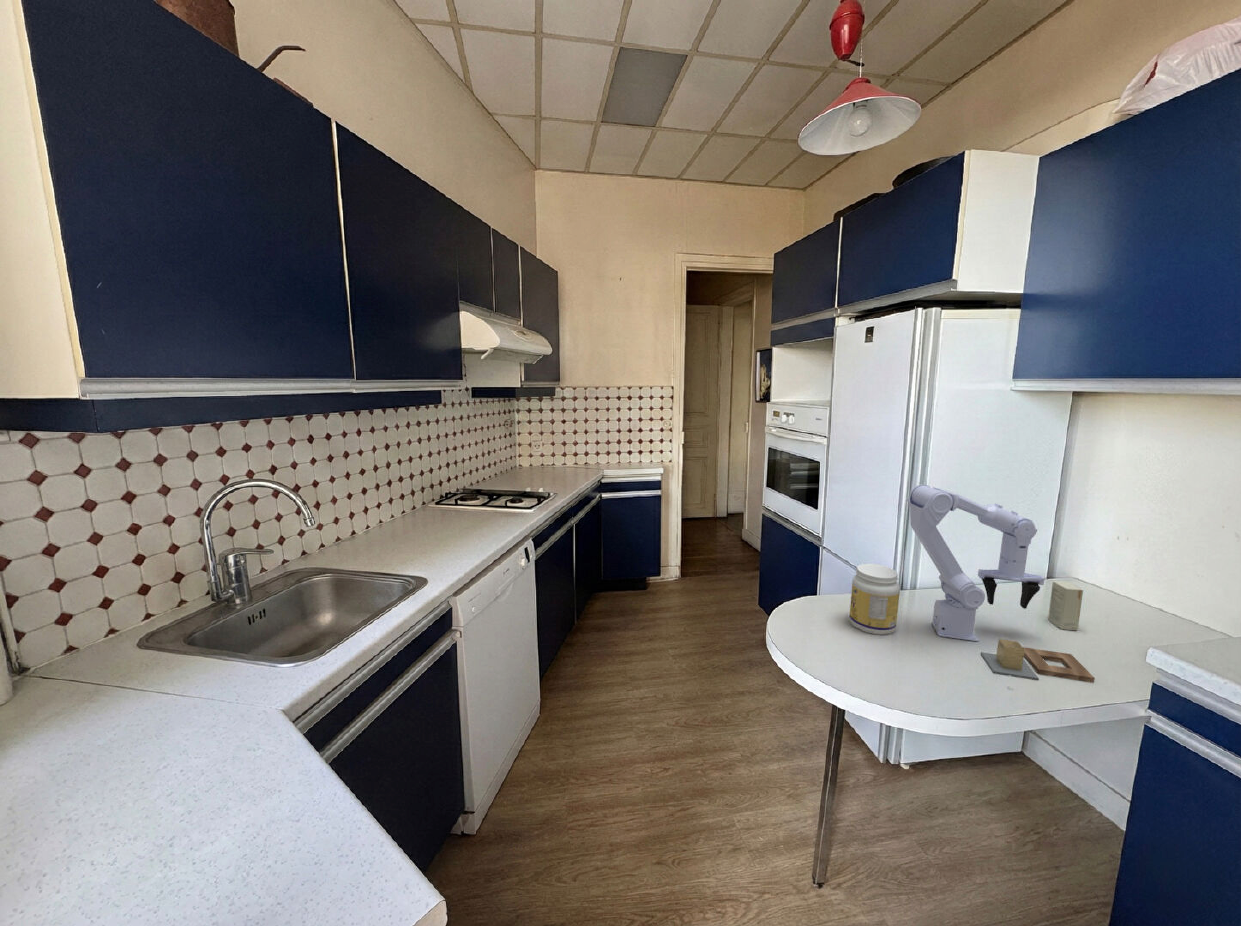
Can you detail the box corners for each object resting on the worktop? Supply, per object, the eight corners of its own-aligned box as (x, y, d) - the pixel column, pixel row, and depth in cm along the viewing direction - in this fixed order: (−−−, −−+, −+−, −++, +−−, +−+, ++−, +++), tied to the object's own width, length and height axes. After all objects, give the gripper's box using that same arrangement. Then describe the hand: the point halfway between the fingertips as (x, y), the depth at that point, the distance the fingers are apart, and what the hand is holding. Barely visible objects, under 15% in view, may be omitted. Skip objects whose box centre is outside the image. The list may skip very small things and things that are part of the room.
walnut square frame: (1038, 673, 120) (1038, 669, 120) (1019, 650, 130) (1020, 646, 130) (1094, 682, 117) (1094, 677, 117) (1070, 658, 127) (1071, 654, 127)
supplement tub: (846, 613, 152) (850, 560, 149) (890, 618, 148) (895, 564, 145) (852, 632, 140) (857, 576, 137) (900, 638, 137) (906, 581, 134)
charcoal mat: (993, 672, 121) (993, 671, 121) (980, 653, 129) (980, 651, 129) (1038, 680, 118) (1038, 678, 118) (1022, 660, 126) (1022, 658, 126)
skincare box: (1078, 631, 140) (1085, 590, 138) (1060, 629, 141) (1067, 589, 139) (1063, 620, 147) (1069, 581, 145) (1046, 619, 147) (1052, 580, 145)
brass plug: (1002, 667, 122) (1005, 646, 121) (995, 658, 126) (998, 638, 125) (1021, 670, 121) (1024, 649, 120) (1014, 661, 125) (1017, 641, 124)
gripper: (986, 560, 134) (980, 607, 137) (1052, 566, 130) (1045, 615, 132) (977, 551, 141) (972, 596, 143) (1040, 557, 136) (1033, 604, 139)
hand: (1006, 605), depth 138 cm, fingers open, 7 cm apart
